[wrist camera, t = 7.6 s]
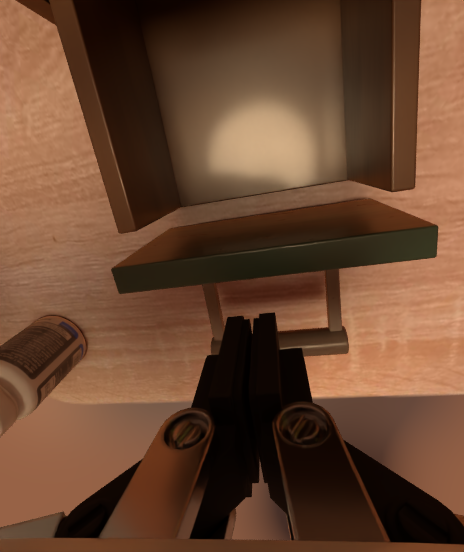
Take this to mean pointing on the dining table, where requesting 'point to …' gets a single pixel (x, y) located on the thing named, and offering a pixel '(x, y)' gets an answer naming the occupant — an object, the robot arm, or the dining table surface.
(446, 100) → the dining table surface
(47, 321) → the pill bottle
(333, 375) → the dining table surface
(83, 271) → the dining table surface
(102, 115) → the drawer
